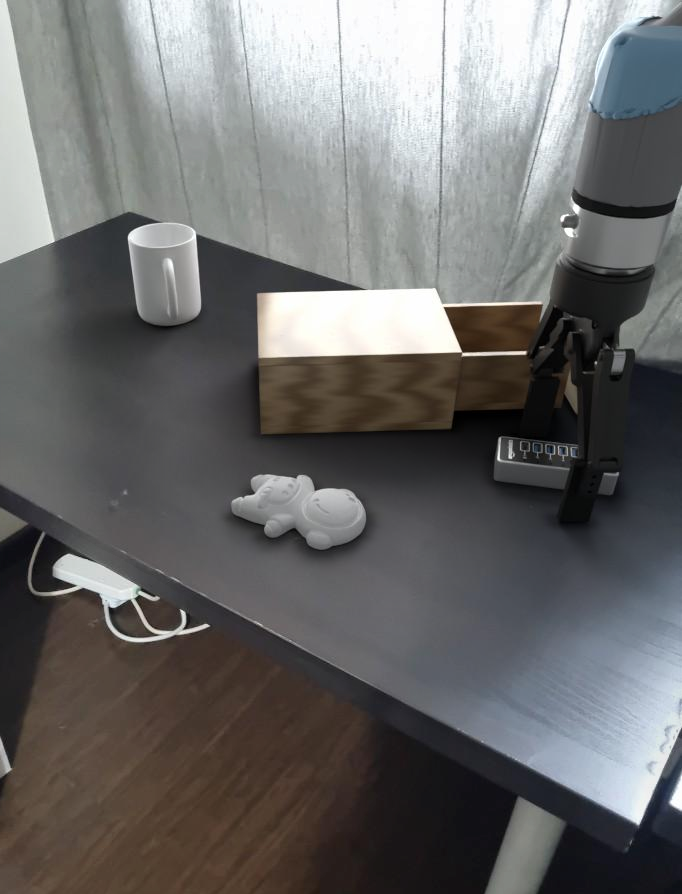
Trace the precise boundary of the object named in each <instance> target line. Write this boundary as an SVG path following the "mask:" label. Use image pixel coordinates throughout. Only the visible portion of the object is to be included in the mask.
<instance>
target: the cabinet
mask: <svg viewBox="0 0 682 894" xmlns="http://www.w3.org/2000/svg"><path fill="white" fill-rule="evenodd" d="M442 304H443V302H442V300H441V298H440V296H439V293H438V291H437V288H434V287H433V288H399V289H365V290H363V289H361V290H360V289H358V290H325V291H322V290H321V291H287V292H257V293H256V308H257V309H256V313H257V314H256V315H257V317H256V318H257V357H258V384H259V385H258V387H259V413H260V414H259V415H260V416H259V417H260V435H279V434H281V435H283V434H285V435H286V434H315V433H317V434H318V433H319V434H321V433H355V432H389V431H422V430H451V429H452V426H453V419H454V413H455V411H454V406H455V399H456V392H457V385H458V379H459V372H460V365H461V358H462V351H461V348H460V346H459V343H458V341H457V339H456V336H455V334H454V331H453V329H452V327H451V324H450V322H449V319H448V317H447V315H446V312H445V310H444V307H443V305H442Z"/></svg>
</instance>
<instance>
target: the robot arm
mask: <svg viewBox="0 0 682 894" xmlns="http://www.w3.org/2000/svg"><path fill="white" fill-rule="evenodd" d="M594 79H595V80H594V84H593V89H592V92H591V95H590V97H589V100H588V106H587V107H588V111H587V118H586V123H585V127H584V132H583V137H582V142H581V146H580V151H579V155H578V161H577V166H576V170H575V175H574V180H573V184H572V186H573V187H572V191H571V194H570V201H569V204H568V209H567V214H563V215H562V216H560V220H559V226H560V227H561V228H562V229H563V232H562V236H561V241H560V248H561V250H562V252H561V253H559V254H558V255H557V257H556V260H555V266H554V270H553V275H552V279H551V285H550V289H549V302H548V304H547V306H546V308H545V310H544V313H543V314H542V316H541V318H540V322H539V325H538V327H537V329H536V331H535V333H534V335H533V338H532V340H531V342H530V344H529V346H528V348H527V351H526V355H527V359H532V360H533V361H532V362H531V364H530V372H531V374H533V377H531V378H530V383H529V388H528V392H527V397H526V402H525V406H524V409H523V412H522V415H521V421H520V425H519V430H518V435H519V437H520V438H543V437H544V438H547V437H548V434H549V429H550V425H551V421H552V418H553V413H554V409H555V408H554V405H555V401H556V397H557V393H558V389H559V385H560V381H561V380H560V378H559V377H558V376H552V374H563V373H565V372H563V371H564V366H565V365H566V364H567V363H568V362H569V361H570V366H571V383H572V384H573V385H575V386H576V387H577V414H576V415H577V445H578V457H573V459H572V460H570V465H571V466H570V470H569V473H568V477H567V481H566V484H565V488H564V489H563V493H562V495H561V499H560V503H559V506H558V511H557V514H556V519H557V521H558V523H570V522H571V523H574V522H575V523H577V522H590V519H591V516H592V512H593V510H594V507H595V503H596V501H597V497H598V495H599V494H598V491H599V487H600V484H601V481H602V478H603V474H604V473H614V472H619V473H621V472H623V471H622V470H623V467H624V458H625V457H624V456H625V443H626V433H627V432H626V431H627V422H628V421H627V419H628V407H629V397H630V396H629V395H630V384H631V383H630V382H631V377H632V373H633V368H634V365H635V362H636V361H635V360H636V350H635V349H634V348H630V347H629V348H628V347H627V348H621V345H620V344H621V343H620V333H621V327H622V324H624V323H625V322H627V321H628V320H629V319H632V318H634V317H637V316H638V315H639V314H640V313H641V312H642V311H644V309H645V307H646V304H647V301H648V297H649V294H650V290H651V287H652V284H653V280H654V277H655V273H656V267H655V265H654V264H656V263H657V262H659V260H660V258H661V255H662V252H663V248H664V246H665V242H666V239H667V236H668V232H669V229H670V225H671V223H672V218H673V215H674V212H675V209H676V205H677V201H678V198H679V196H680V192H681V189H682V1H681V2H680V3H679V4H677V5H676V6H675V7H674V8H673V9H671V10H670V11H669V12H668V13H667V14H666V15H665V16H660V15H657V16H656V15H651V16H640V17H636V18H633V19H632V20H629V21H626V22H625V23H623V24H622V25H620V26H619V27H618V28H617V29H616V30H615V31H614V32H613V33H612V34H611V35H610V36H609V38H608V39H607V40H606V42H605V44H604V45H603V47H602V49H601V51H600V53H599V56H598V58H597V62H596V66H595V73H594ZM593 371H595V373H594V374H585V373H583V372H593Z"/></svg>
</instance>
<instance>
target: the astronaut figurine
mask: <svg viewBox="0 0 682 894" xmlns="http://www.w3.org/2000/svg"><path fill="white" fill-rule="evenodd" d="M250 485H251V486H250V487H251V490H252V491H253V492H254V494H251V495H245V496H244V497H242V496H240V497H237V498H235V499H233V500H232V501H231V503H230V507H231V512H232V514H233V515H235V516H236V517H239V518H242V519H244V520H246V521H250V522H252V523H255V524H259V525H263V526H264V529H263V532H264V535H266V537H268V538H271V539H274V538H278V537H280V536H282V535H284V534H285V533H287V532H289V531H290V530H293V529H295V530H296V531H297V532H298V533H299V534H300V535H301V536H302V537H303V538H304V539H305V541H306V544H307V545H308V546H309V547H311V548H313V549H315V550H320V551H323V550H324V551H325V550H328V549H330V548H331V547H335V546H340V545H344V544H347V543H350V542H351V541H353V540H354V539H356V538H357V537H358V536H360V535H361V534H362V532H363V531H364V529H365V527H366V524H367V523H366V522H367V515H366V514H367V513H366V509H365V507H364V505H363V503H362V502H361V501H360V499H359V498H357V495H356V494H355V493H354V492H353V491H351V490H349V489H347V488H339V489H338V488H330V487H329V488H321V489H318V490H315V486H314V485H315V484H314V483H313V480H312V478H311V477H309V476H308V475H306V474H299V475H297V476H296V478H295V477H291V476H284V475H276V474H270V473H269V474H267V473H266V474H258V475H256V476H253V477H252V478H251V479H250Z"/></svg>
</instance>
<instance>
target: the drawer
mask: <svg viewBox="0 0 682 894" xmlns="http://www.w3.org/2000/svg"><path fill="white" fill-rule="evenodd" d="M442 305H443V307H444V310H445V312H446V315H447V317H448V319H449V322H450V324H451V327H452V329H453V331H454V334H455V336H456V339H457V341H458V343H459V346H460V348H461V351H462V358H461V365H460V372H459V379H458V385H457V392H456V399H455V406H454V412H456V411H457V412H459V411H492V410H496V411H499V410H524V406H525V402H526V397H527V392H528V388H529V383H530V378H531V377H533V374H531V372H530V364H531V362H532V361H533V360H532V359H527V355H526V351H527V348H528V346H529V344H530V342H531V340H532V338H533V335H534V333H535V331H536V329H537V327H538V325H539V323H540V321H541V319H542V313H543V308H544V303H543V302H542V301H508V302H472V303H471V302H469V303H467V302H466V303H442ZM563 372H565V373H563V374H552V376H558V377H559V378H560V380H561V381H560V385H559V389H558V393H557V397H556V401H555V405H554V409H560V408H561V409H562V405H563V400H564V396H565V398H566V399H567V401H568V403H569V404H570V406H571V408H572V409H573V412H575V415H578V414H577V387H576V386H575V385H573V384H572V383H571V366H570V361H569V362H568V363H567V364H566V365H565V366H564V371H563ZM583 373H585V374H594V373H595V371H593V372H583Z"/></svg>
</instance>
